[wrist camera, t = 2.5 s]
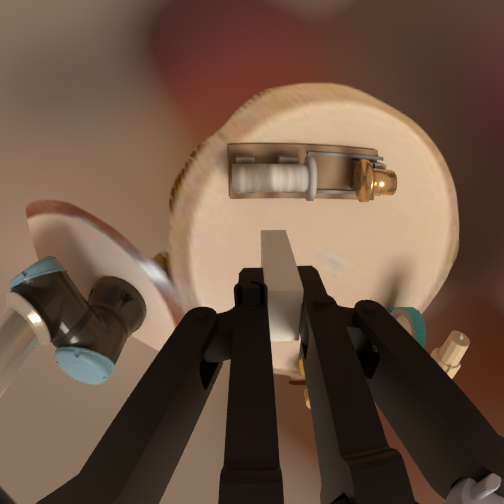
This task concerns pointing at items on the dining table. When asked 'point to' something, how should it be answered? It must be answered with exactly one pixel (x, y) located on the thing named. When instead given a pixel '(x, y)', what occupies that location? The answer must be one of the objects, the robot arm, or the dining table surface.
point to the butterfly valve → (415, 326)
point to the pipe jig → (293, 170)
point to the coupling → (371, 179)
